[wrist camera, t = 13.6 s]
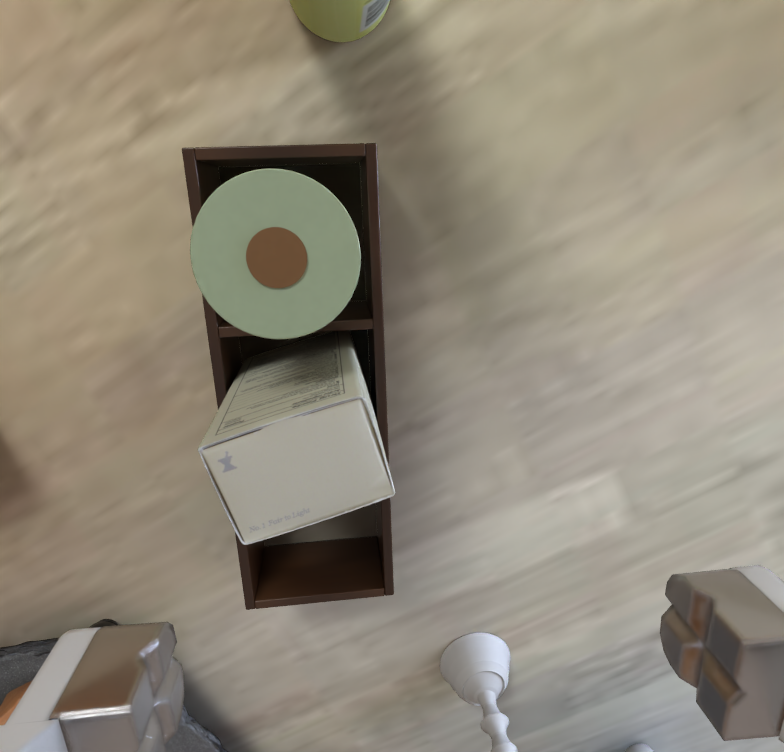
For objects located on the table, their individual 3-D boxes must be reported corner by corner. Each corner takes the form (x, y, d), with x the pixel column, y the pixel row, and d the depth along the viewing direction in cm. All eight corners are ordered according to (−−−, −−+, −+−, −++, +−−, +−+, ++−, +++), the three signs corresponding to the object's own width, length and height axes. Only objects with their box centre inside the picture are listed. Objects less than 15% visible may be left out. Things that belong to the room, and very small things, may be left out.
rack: (368, 152, 28) (376, 142, 23) (385, 541, 35) (394, 595, 30) (207, 157, 27) (181, 147, 22) (257, 553, 34) (245, 610, 29)
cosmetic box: (270, 425, 32) (236, 553, 20) (242, 354, 30) (188, 449, 19) (374, 392, 32) (400, 501, 20) (351, 320, 30) (364, 394, 19)
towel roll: (346, 178, 28) (356, 165, 18) (352, 288, 30) (365, 335, 19) (234, 181, 28) (176, 170, 17) (247, 293, 29) (201, 344, 19)
